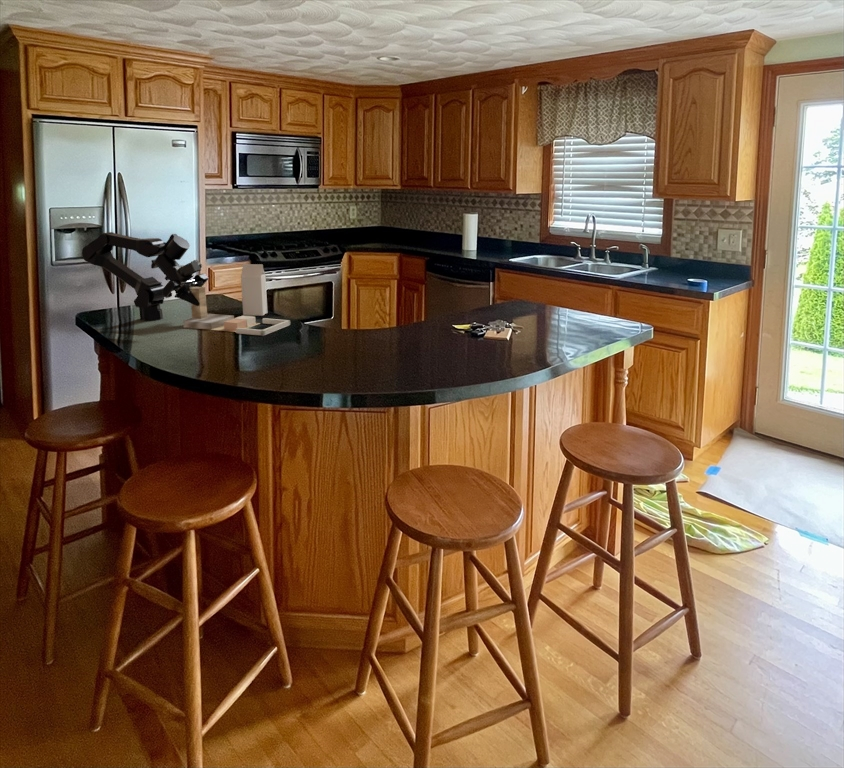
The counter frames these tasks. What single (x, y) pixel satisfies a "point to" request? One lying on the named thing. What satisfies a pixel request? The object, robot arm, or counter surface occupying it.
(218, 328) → the board
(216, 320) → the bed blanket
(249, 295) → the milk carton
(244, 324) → the tile
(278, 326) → the tray
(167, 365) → the counter surface
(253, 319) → the tile
